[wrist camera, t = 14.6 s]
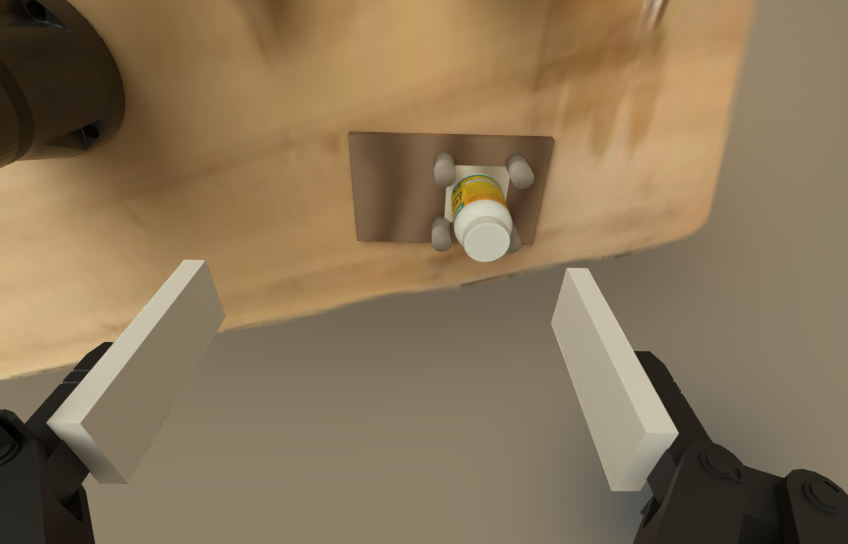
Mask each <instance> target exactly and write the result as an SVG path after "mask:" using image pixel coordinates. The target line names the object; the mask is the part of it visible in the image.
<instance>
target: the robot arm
mask: <svg viewBox="0 0 848 544" xmlns="http://www.w3.org/2000/svg"><path fill="white" fill-rule="evenodd" d="M124 105H125V102H124V91H123V86H122V82H121V78H120V75H119V72H118V70H117V67H116V65H115V63H114V61H113V58H112V56H111V55H110V53H109V51H108V49H107V48H106V46H105V44H104V43H103V41H102V40H101V38H100V37H99V35H98V34H97V33H96V32H95V30H94V29H93V28H92V26H91V25H90V24H89V23H88V22H87V21H86V20H85V18H84V17H83V16H82V15H81V14H80V13H79V12H78V11H77V10H76V9H75V8H74V7H73V6H71V5H70V4H69V3H68V2H67V1H66V0H0V168H2V167H4V166H6V165H8V164H10V163H13V162H15V161H22V160H38V159H54V158H68V157H74V156H78V155H82V154H85V153H87V152H89V151H91V150H93V149H95V148H97V147H99V146H101V145H103V144H104V143H106V142H107V141H109V140H110V139H111V138H112V137H113V136H114V135H115V133H116V132H117V130H118V129H119V127H120V125H121V122H122V119H123V115H124ZM224 319H225V314H224V311H223V308H222V306H221V303H220V300H219V297H218V294H217V291H216V289H215V286H214V283H213V280H212V277H211V274H210V272H209V269H208V266H207V263H206V260H184V261H183V262H182V263H181V264H180V265H179V266H178V268H177V269H176V270H175V271H174V272H173V274H172V275H171V276H170V277H169V278H168V279H167V281H166V282H165V283H164V284H163V285H162V287H161V288H160V289H159V290H158V291H157V292H156V294H155V295H154V296H153V297H152V298H151V300H150V301H149V302H148V303H147V304H146V305H145V307H144V308H143V309H142V310H141V311H140V313H139V314H138V315H137V316H136V317H135V318H134V320H133V321H132V322H131V323H130V324H129V326H128V327H127V328H126V329H125V330H124V332H123V333H122V334H121V335H120V336H119V337H118V339H117V340H116V341H115V342H104V343H102V344H101V345H100V346H98V347H97V348H95V349H94V350H92V351H91V352H89V353H88V354H87V355H86V356H85V357H84V358H83V359H82V360H81V361H80V362H79V363H78V365H77V366H76V367H75V368H74V371H73V372H70V374H69V375H68V376H67V377H66V378H65V379H64V380H63V384H60V385H59V386H58V387H57V388H56V389H55V390H54V391H53V393H52V394H51V395H50V396H49V397H48V398H47V399H46V400H45V402H44V403H43V404H42V405H41V406H40V407H39V408H38V409H37V411H36V412H35V413H34V414H33V415H32V416H31V417H30V418H29V420H28V421H27V422H26V423H25V424H24V423H23V422H22V421H21V420H20V419H19V418H18V416H17V415H16V414H15V413H14V412H12V411H9V410H6V409H4V410H0V544H95V540H94V535H93V530H92V524H91V518H90V512H89V507H88V501H87V495H86V491H85V489H84V487H83V486H82V485H81V484H82V482H83V481H84V479H85V478H86V476H87V475H88V473H89V472H90V473H91V474H92V475H93V476H94V478H95V479H96V480H97V481H98V482H99V483H117V484H118V483H120V484H128V483H129V481H130V480H131V478H132V476H133V475H134V473H135V471H136V469H137V468H138V466H139V464H140V463H141V461H142V459H143V457H144V455H145V454H146V452H147V451H148V449H149V447H150V445H151V444H152V442H153V440H154V439H155V437H156V435H157V433H158V432H159V430H160V428H161V426H162V425H163V423H164V421H165V420H166V418H167V416H168V415H169V413H170V411H171V409H172V408H173V406H174V404H175V402H176V401H177V399H178V397H179V396H180V394H181V392H182V390H183V389H184V387H185V385H186V384H187V382H188V380H189V378H190V377H191V375H192V373H193V371H194V370H195V368H196V367H197V365H198V363H199V361H200V360H201V358H202V356H203V355H204V353H205V351H206V349H207V348H208V346H209V344H210V343H211V341H212V339H213V337H214V336H215V334H216V332H217V331H218V329H219V327H220V325H221V324H222V322H223V320H224ZM551 324H552V327H553V330H554V333H555V335H556V338H557V341H558V344H559V346H560V349H561V352H562V355H563V357H564V360H565V363H566V366H567V369H568V371H569V374H570V377H571V380H572V382H573V385H574V388H575V391H576V393H577V396H578V399H579V402H580V404H581V407H582V410H583V413H584V416H585V418H586V421H587V424H588V427H589V429H590V432H591V435H592V438H593V441H594V443H595V446H596V449H597V452H598V454H599V457H600V460H601V463H602V465H603V468H604V471H605V474H606V476H607V479H608V482H609V485H610V488H611V490H612V491H640V489H641V488H642V487H643V485H644V484H645V482H646V481H648V483H649V485H650V487H651V490H652V492H653V494H654V495H653V496H652V497H651V499H650V500H649V501H648V503H647V504H646V506H645V507H644V508H643V510H642V511H641V514H643V515H644V516H643V519H642V522H641V524H640V527H639V529H638V532H637V534H636V537H635V539H634V542H633V544H848V495H847V494H846V493H845V492H844V490H843V489H842V488H840V487H839V486H838V485H836V484H835V483H834V482H832V481H831V480H829V479H828V478H826V477H824V476H822V475H820V474H818V473H816V472H813V471H808V470H805V469H798V470H792V471H791V472H790V473H789V474H788V475H787V476H786V477H785V478H782V477H779V476H776V475H772V474H769V473H766V472H762V471H759V470H756V469H752V468H749V467H747V466H744V465H743V464H742V462H741V461H740V460H739V459H738V458H737V457H736V456H735V455H734V454H733V453H731V452H730V451H728V450H727V449H726V448H724V447H722V446H720V445H718V444H715V443H713V442H712V441H711V439H710V438H709V436H708V435H707V433H706V431H705V430H704V428H703V426H702V425H701V423H700V422H699V420H698V418H697V417H696V415H695V413H694V412H693V410H692V408H691V407H690V405H689V404H688V402H687V400H686V399H685V397H684V396H683V394H681V391H680V389H679V387H678V386H677V384H676V382H674V381H673V378H672V376H671V374H670V373H669V371H668V369H667V368H666V367H665V365H664V364H663V363H662V362H661V361H660V360H659V359H658V358H657V357H656V356H655V355H653V354H652V353H651V352H650V351H649V352H648V351H633V349H632V348H631V346H630V344H629V343H628V341H627V339H626V337H625V335H624V333H623V331H622V330H621V328H620V326H619V324H618V322H617V320H616V319H615V317H614V315H613V313H612V312H611V310H610V308H609V306H608V304H607V303H606V301H605V299H604V297H603V296H602V294H601V292H600V290H599V288H598V286H597V284H596V283H595V281H594V279H593V277H592V275H591V273H590V272H589V270H588V269H586V268H567V269H566V273H565V276H564V280H563V284H562V287H561V291H560V294H559V298H558V301H557V305H556V308H555V312H554V315H553V319H552V323H551Z"/></svg>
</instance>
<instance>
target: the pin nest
mask: <svg viewBox="0 0 848 544" xmlns="http://www.w3.org/2000/svg"><path fill="white" fill-rule="evenodd" d="M348 141H349V152H350V164H351V176H352V188H353V199H354V211H355V223H356V234H357V241H389V242H432V246H433V248H434V249H435V250H437V251H441V252H443V251H446V250H448V249H449V248H450V247H451V243H459V241H458V240H457V238H456V235H455V231H454V223H453V214H452V205H451V194H452V190H453V188H454V186H455V185H456V184H457V183H458V182H459V181H460V180H461V179H462V178H464V177H465V176H467V175H470V174H474V173H482V174H486V175H489V176H490V177H492V178H493V179H494V180H496V182H497V183H498V184H499V186H500V188H501V190H502V193H503V196H504V198H505V201H506V204H507V207H508V209H509V212H510V215H511V218H512V231H511V234H510V245H509V248H508V250H507V251H506V252H507V253H514V252H516V251H518V250H519V249H520V247H521V244H525V245H532V242H533V238H534V233H535V228H536V223H537V219H538V214H539V209H540V205H541V200H542V195H543V190H544V186H545V181H546V176H547V172H548V167H549V162H550V158H551V153H552V148H553V143H554V139H553V138H552V137H544V136H504V135H464V134H424V133H385V132H349V134H348Z"/></svg>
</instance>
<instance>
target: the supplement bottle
mask: <svg viewBox="0 0 848 544" xmlns="http://www.w3.org/2000/svg"><path fill="white" fill-rule="evenodd" d="M451 205H452V214H453V223H454V231H455V235H456V238H457V240H458V241H459V243H460V244H461V245H462V246H463V247H464V249H465V251H466V253H467V254H468V256H469V257H471V258H472V259H474V260H476V261H480V262H490V261H494V260H497V259H499V258H500V257H502V256H503V255H504V254H505V253H506V251H507V250H508V248H509V245H510V234H511V231H512V218H511V215H510V212H509V209H508V207H507V204H506V201H505V198H504V196H503V193H502V190H501V188H500V186H499V184H498V183H497V182H496V180H494V179H493V178H492V177H490V176H489V175H486V174H482V173H474V174H470V175H467V176H465V177H464V178H462V179H461V180H460V181H459V182H458V183H457V184H456V185H455V186H454V188H453V190H452V194H451Z"/></svg>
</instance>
